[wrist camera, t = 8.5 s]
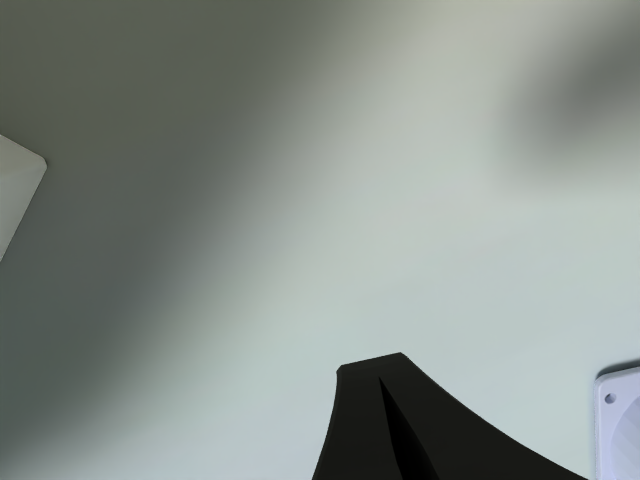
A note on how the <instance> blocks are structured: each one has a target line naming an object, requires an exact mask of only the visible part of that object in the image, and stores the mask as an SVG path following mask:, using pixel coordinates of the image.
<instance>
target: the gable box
mask: <svg viewBox="0 0 640 480" xmlns="http://www.w3.org/2000/svg"><path fill="white" fill-rule="evenodd" d="M46 169H47V165H46V162H45V160H44V158H43V157H41V156H39V155H37V154H35V153H33V152H32V151H30V150H28V149H26V148H24V147H22V146H21V145H19V144H17V143H15V142H13V141H11V140H10V139H8V138H6V137H4V136H2V135H1V134H0V262H1V260H2V258H3V256H4V254H5V251H6V249H7V247H8V245H9V243H10V241H11V239H12V237H13V235H14V233H15V231H16V229H17V227H18V225H19V223H20V221H21V219H22V217H23V215H24V213H25V211H26V209H27V207H28V205H29V203H30V201H31V199H32V197H33V195H34V193H35V191H36V189H37V187H38V185H39V183H40V181H41V179H42V177H43V175H44V173H45V171H46Z"/></svg>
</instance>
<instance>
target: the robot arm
mask: <svg viewBox="0 0 640 480" xmlns="http://www.w3.org/2000/svg"><path fill="white" fill-rule="evenodd" d="M336 373H337V386H336V394H335V400H334V406H333V411H332V415H331V419H330V423H329V427H328V431H327V435H326V438H325V442H324V445H323V448H322V451H321V454H320V457H319V460H318V463H317V466H316V469H315V472H314V475H313V477H312V480H588V479H586V478H584V477H582V476H579V475H577V474H575V473H573V472H571V471H569V470H568V469H566V468H564V467H562V466H560V465H558V464H556V463H554V462H552V461H550V460H549V459H547V458H545V457H543V456H541V455H540V454H538V453H536V452H534V451H532V450H531V449H529V448H527V447H525V446H524V445H522V444H520V443H519V442H517V441H516V440H514V439H512V438H511V437H509V436H508V435H506V434H504V433H503V432H502V431H500V430H499V429H497V428H496V427H494V426H493V425H491V424H490V423H488V422H487V421H485V420H484V419H482V418H481V417H480V416H478V415H477V414H475V413H474V412H473V411H471V410H470V409H469V408H467V407H466V406H465V405H463V404H462V403H461V402H459V401H458V400H457V399H456V398H454V397H453V396H452V395H450V394H449V393H448V392H447V391H445V390H444V389H443V388H442V387H440V386H439V385H438V384H437V383H436V382H435V381H433V380H432V379H431V378H430V377H429V376H427V375H426V374H425V373H424V372H423V371H422V370H421V369H420V368H419V367H417V366H416V365H415V364H414V363H413V362H412V361H411V360H410V359H409V358H408V357H407V356H405V355H404V354H402V353H401V352H399V353H395V354H390V355H385V356H381V357H376V358H372V359H367V360H363V361H358V362H354V363H349V364H345V365H341V366H340V367H339V369H338V370H337V371H336ZM608 394H610V395H609V396H608V397H606V396H607V395H608ZM605 397H606V398H605ZM594 403H595V439H596V475H597V480H640V367H635V368H631V369H626V370H622V371H617V372H613V373H608V374H604V375H602V376H600V377H599V378H598V379H597V380H596V382H595V384H594Z"/></svg>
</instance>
